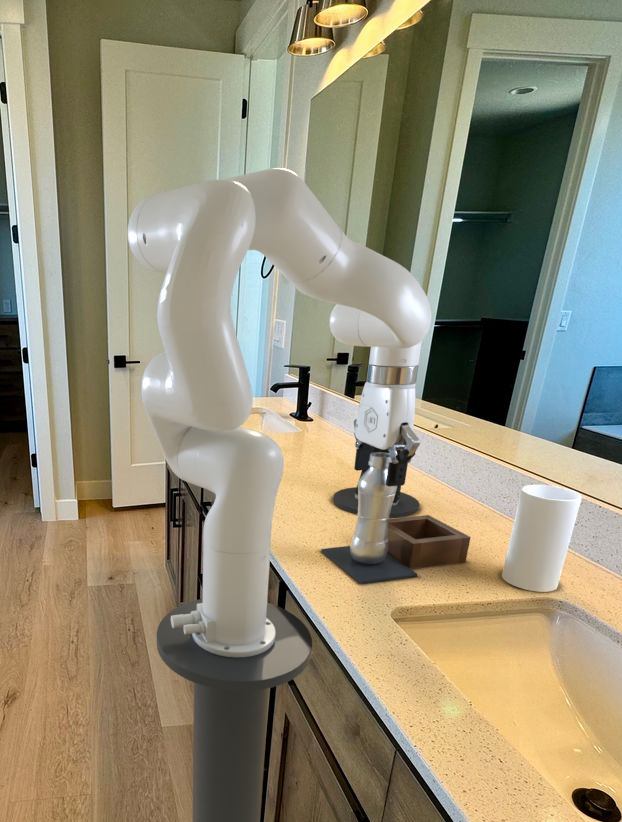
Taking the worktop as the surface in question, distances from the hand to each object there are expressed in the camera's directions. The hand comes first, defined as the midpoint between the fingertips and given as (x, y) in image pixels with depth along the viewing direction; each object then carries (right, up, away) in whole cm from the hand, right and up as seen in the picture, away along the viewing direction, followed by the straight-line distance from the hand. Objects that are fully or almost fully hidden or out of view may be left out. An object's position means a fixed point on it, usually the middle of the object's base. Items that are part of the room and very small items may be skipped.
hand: (378, 477), depth 99 cm
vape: (+13, -3, +37) cm, 39 cm away
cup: (+26, -18, -1) cm, 31 cm away
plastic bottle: (0, -15, +6) cm, 16 cm away
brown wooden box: (+11, -14, +10) cm, 21 cm away
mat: (0, -15, +6) cm, 17 cm away
